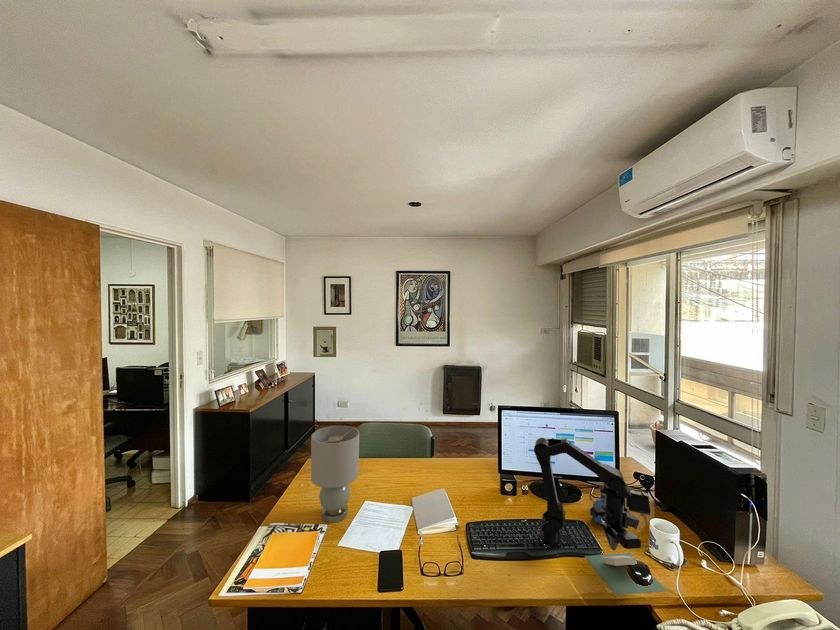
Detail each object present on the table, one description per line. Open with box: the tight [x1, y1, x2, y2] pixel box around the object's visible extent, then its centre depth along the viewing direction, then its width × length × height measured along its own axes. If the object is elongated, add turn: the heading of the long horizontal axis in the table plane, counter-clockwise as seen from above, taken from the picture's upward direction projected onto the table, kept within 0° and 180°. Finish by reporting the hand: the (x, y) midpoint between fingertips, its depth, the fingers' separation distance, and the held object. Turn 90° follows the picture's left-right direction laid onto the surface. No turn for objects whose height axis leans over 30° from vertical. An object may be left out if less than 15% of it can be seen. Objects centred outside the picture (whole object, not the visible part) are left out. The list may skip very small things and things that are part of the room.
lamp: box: [310, 425, 360, 524], centre depth 138 cm, size 20×20×35 cm
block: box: [602, 556, 638, 566], centre depth 112 cm, size 8×2×7 cm
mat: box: [583, 552, 668, 596], centre depth 110 cm, size 18×16×1 cm
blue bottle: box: [592, 492, 605, 525], centre depth 137 cm, size 6×6×12 cm
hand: (613, 549), depth 115 cm, fingers closed
